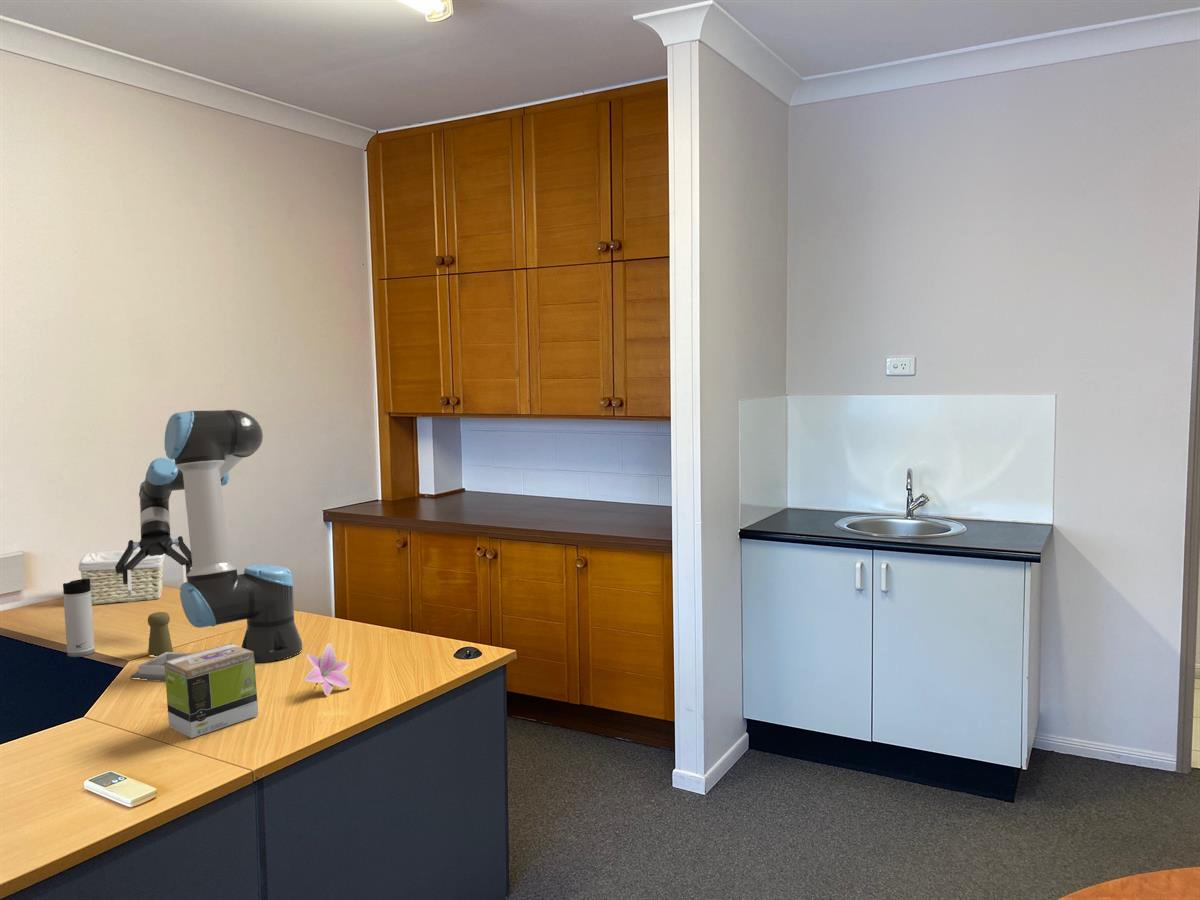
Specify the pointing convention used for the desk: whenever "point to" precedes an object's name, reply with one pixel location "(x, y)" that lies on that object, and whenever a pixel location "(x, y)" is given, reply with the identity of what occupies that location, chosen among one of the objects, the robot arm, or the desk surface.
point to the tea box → (211, 689)
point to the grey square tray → (156, 667)
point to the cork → (159, 634)
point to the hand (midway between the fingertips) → (157, 590)
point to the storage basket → (111, 585)
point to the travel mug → (78, 618)
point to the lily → (327, 670)
